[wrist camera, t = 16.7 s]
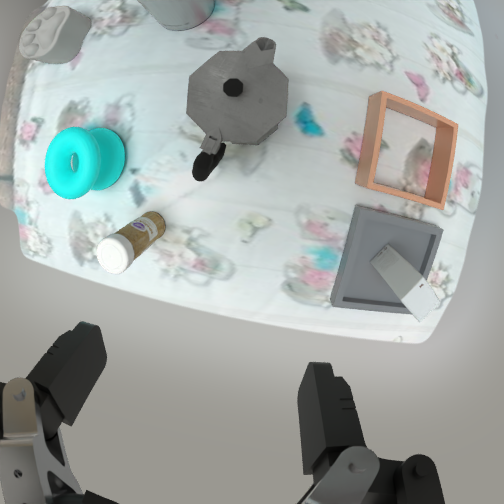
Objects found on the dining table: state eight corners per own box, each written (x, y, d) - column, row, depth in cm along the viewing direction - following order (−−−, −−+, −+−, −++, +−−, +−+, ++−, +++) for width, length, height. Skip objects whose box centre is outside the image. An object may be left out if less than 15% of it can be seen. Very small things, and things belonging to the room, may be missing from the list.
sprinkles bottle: (167, 214, 40) (128, 243, 28) (164, 241, 42) (127, 279, 29) (141, 208, 40) (95, 234, 28) (138, 235, 42) (95, 270, 29)
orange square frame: (369, 96, 33) (382, 90, 28) (440, 125, 33) (458, 124, 28) (354, 183, 37) (366, 187, 33) (426, 203, 38) (443, 210, 33)
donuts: (33, 155, 28) (76, 111, 26) (72, 150, 37) (113, 116, 35) (57, 214, 31) (104, 176, 29) (94, 199, 40) (138, 168, 38)
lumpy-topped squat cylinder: (74, 64, 31) (43, 55, 23) (34, 64, 30) (5, 59, 22) (97, 15, 27) (71, 0, 19) (53, 19, 26) (28, 9, 18)
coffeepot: (237, 63, 32) (217, 6, 15) (298, 90, 33) (324, 47, 16) (190, 156, 37) (135, 165, 20) (249, 183, 38) (238, 212, 22)
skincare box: (368, 261, 41) (399, 299, 29) (387, 242, 39) (423, 275, 28) (388, 283, 42) (419, 324, 31) (406, 266, 41) (442, 302, 29)
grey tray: (355, 205, 39) (360, 208, 36) (435, 225, 39) (443, 229, 36) (329, 298, 44) (332, 306, 42) (406, 307, 45) (412, 314, 42)
